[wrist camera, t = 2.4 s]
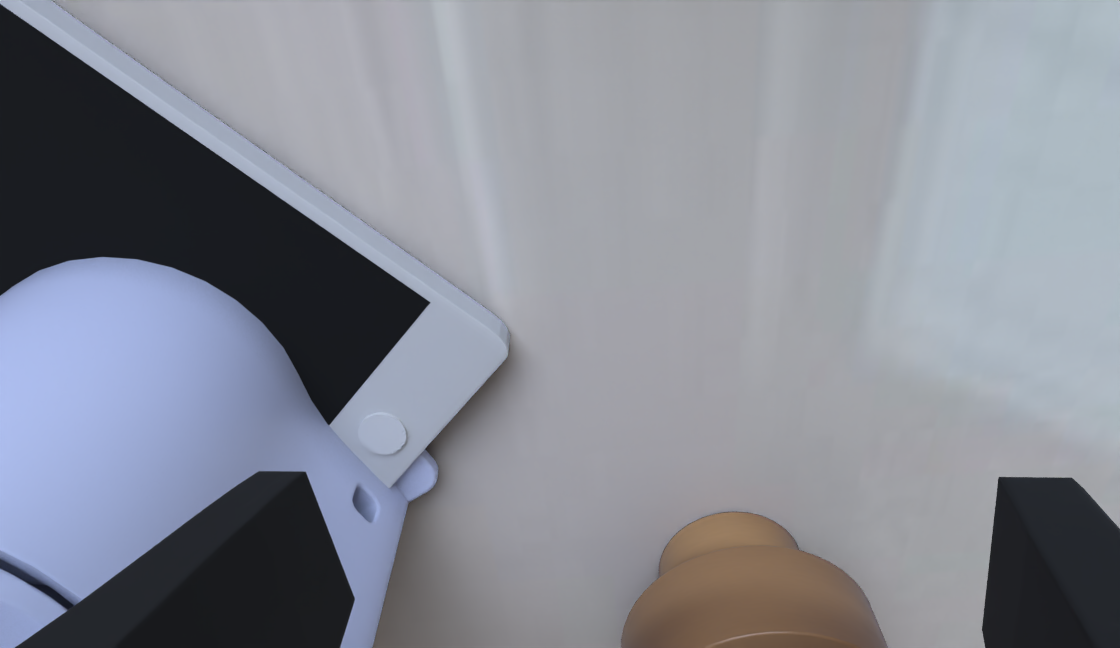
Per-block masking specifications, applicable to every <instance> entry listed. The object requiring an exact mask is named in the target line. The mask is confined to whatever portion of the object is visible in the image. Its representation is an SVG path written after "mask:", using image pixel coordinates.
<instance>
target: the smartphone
mask: <svg viewBox="0 0 1120 648" xmlns="http://www.w3.org/2000/svg"><path fill="white" fill-rule="evenodd" d="M97 257H110V258H125V259H138V260H142V261H146V262H151V263H155V264H159V265H163V266H167V267H172V268H174V269H177V270H179V271H181V272H184V273H186V274H189V275H191V276H194V277H196V278H198V279H201V280H203V281H206V282H207V283H209V284H211V285H212V286H214V287H215V288H217V289H219V290H220V291H222V292H224V293H225V294H227V295H229V296H230V297H232V298H233V299H235V300H237V301H238V302H239V303H240V304H241V305H242V306H244V307H245V308H246V309H247V310H248V311H249V312H251V313H252V314H253V315H254V316H255V317H256V318H258V319H259V320H260V321H261V322H262V323H263V324H264V325H265V326H266V328H267V329H268V330H269V331H270V332H271V334H272V335H273V336H274V337H275V338H276V340H277V341H278V342H279V343H280V344H281V346H282V347H283V348H284V350H285V351H286V353H287V355H288V357H289V359H290V360H291V362H292V364H293V366H294V367H295V369H296V371H297V373H298V375H299V377H300V379H301V381H302V383H303V385H304V387H305V389H306V391H307V393H308V395H309V397H310V399H311V401H312V402H313V404H314V405H315V407H316V408H317V410H318V411H319V413H320V414H321V415H322V417H323V418H324V420H325V421H326V423H327V424H328V425H329V426H330V427H331V428H332V430H333V431H334V432H335V433H336V434H337V435H338V437H339V438H340V439H341V440H342V441H343V442H344V443H345V444H346V445H347V447H348V448H349V449H350V450H351V451H352V452H353V453H354V454H355V455H356V456H357V457H358V458H359V459H360V460H361V461H362V462H363V463H364V464H365V465H366V466H367V467H368V468H369V469H370V470H371V471H372V472H373V473H374V474H375V475H376V476H377V477H378V478H379V479H380V480H381V481H382V482H383V483H384V484H385V485H386V486H387V487H388V488H390V487H391V486H392V485H393V484H394V483H395V482H396V481H397V480H398V478H399V477H400V476H401V475H402V474H403V473H404V472H405V471H406V470H407V468H408V467H409V466H410V465H411V464H412V463H413V462H414V461H415V459H416V458H417V457H418V456H419V455H420V454H421V453H422V452H423V451H424V449H425V448H426V447H427V446H428V445H429V444H430V443H431V442H432V441H433V439H434V438H435V437H436V436H437V435H438V434H439V433H440V432H441V431H442V429H443V428H444V427H445V426H446V425H447V424H448V423H449V422H450V420H451V419H452V418H453V417H454V416H455V415H456V414H457V413H458V412H459V410H460V409H461V408H462V407H463V406H464V405H465V404H466V403H467V402H468V400H469V399H470V398H471V397H472V396H473V395H474V394H475V393H476V392H477V390H478V389H479V388H480V387H481V386H482V385H483V384H484V383H485V381H486V380H487V379H488V378H489V377H490V376H491V375H492V374H493V373H494V371H495V370H496V369H497V368H498V367H499V366H500V365H501V364H502V363H503V361H504V360H505V359H506V358H507V356H508V352H509V343H510V333H509V331H508V328H507V327H506V326H505V324H504V323H503V322H502V321H501V320H500V319H499V318H498V317H497V316H496V315H494V314H493V313H492V312H490V311H489V310H488V309H486V308H485V307H483V306H482V305H481V304H479V303H478V302H476V301H475V300H473V299H472V298H471V297H469V296H468V295H466V294H465V293H464V292H462V291H461V290H459V289H458V288H456V287H455V286H454V285H452V284H451V283H449V282H448V281H447V280H445V279H444V278H442V277H441V276H440V275H438V274H437V273H435V272H434V271H432V270H431V269H430V268H428V267H427V266H425V265H424V264H423V263H421V262H420V261H418V260H417V259H415V258H414V257H413V256H411V255H410V254H408V253H407V252H406V251H404V250H403V249H401V248H400V247H398V246H397V245H396V244H394V243H393V242H391V241H390V240H389V239H387V238H386V237H384V236H383V235H381V234H380V233H379V232H377V231H376V230H374V229H373V228H372V227H370V226H369V225H367V224H366V223H365V222H363V221H362V220H360V219H359V218H357V217H356V216H355V215H353V214H352V213H350V212H349V211H348V210H346V209H345V208H343V207H342V206H340V205H339V204H338V203H336V202H335V201H333V200H332V199H331V198H329V197H328V196H326V195H325V194H323V193H322V192H321V191H319V190H318V189H316V188H315V187H314V186H312V185H311V184H309V183H308V182H307V181H305V180H304V179H302V178H301V177H299V176H298V175H297V174H295V173H294V172H292V171H291V170H290V169H288V168H287V167H285V166H284V165H282V164H281V163H280V162H278V161H277V160H275V159H274V158H273V157H271V156H270V155H268V154H267V153H265V152H264V151H263V150H261V149H260V148H258V147H257V146H256V145H254V144H253V143H251V142H250V141H248V140H247V139H246V138H244V137H243V136H241V135H240V134H239V133H237V132H236V131H234V130H233V129H232V128H230V127H229V126H227V125H226V124H224V123H223V122H222V121H220V120H219V119H217V118H216V117H215V116H213V115H212V114H210V113H209V112H207V111H206V110H205V109H203V108H202V107H200V106H199V105H198V104H196V103H195V102H193V101H192V100H190V99H189V98H188V97H186V96H185V95H183V94H182V93H181V92H179V91H178V90H176V89H175V88H173V87H172V86H171V85H169V84H168V83H166V82H165V81H164V80H162V79H161V78H159V77H158V76H157V75H155V74H154V73H152V72H151V71H149V70H148V69H147V68H145V67H144V66H142V65H141V64H140V63H138V62H137V61H135V60H134V59H132V58H131V57H130V56H128V55H127V54H125V53H124V52H123V51H121V50H120V49H118V48H117V47H115V46H114V45H113V44H111V43H110V42H108V41H107V40H106V39H104V38H103V37H101V36H100V35H98V34H97V33H96V32H94V31H93V30H91V29H90V28H89V27H87V26H86V25H84V24H83V23H82V22H80V21H79V20H77V19H76V18H74V17H73V16H72V15H70V14H69V13H67V12H66V11H65V10H63V9H62V8H60V7H59V6H57V5H56V4H55V3H53V2H52V1H50V0H0V296H1V295H2V294H3V293H5V292H6V291H7V290H9V289H10V288H11V287H13V286H14V285H16V284H17V283H19V282H21V281H22V280H24V279H26V278H27V277H29V276H31V275H32V274H34V273H36V272H37V271H39V270H42V269H45V268H48V267H51V266H54V265H58V264H61V263H64V262H67V261H71V260H80V259H89V258H97Z"/></svg>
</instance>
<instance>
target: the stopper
mask: <svg viewBox="0 0 1120 648" xmlns="http://www.w3.org/2000/svg"><path fill="white" fill-rule="evenodd" d="M621 648H888V646H887V644H886V641H885V639H884V636H883V634H882V632H881V629H880V627H879V624H878V622H877V620H876V617H875V615H874V612H873V610H872V607H871V605H870V603H869V601H868V599H867V597H866V595H865V594H864V592H863V590H862V589H861V588H860V587H859V586H858V584H857V583H856V582H855V581H854V580H853V579H852V578H851V577H850V576H848V575H847V574H846V573H845V572H844V571H843V570H841V569H840V568H838V567H837V566H835V565H833V564H832V563H830V562H828V561H826V560H824V559H822V558H820V557H818V556H816V555H813V554H809V553H806V552H803V551H800V550H799V549H798V546H797V544H796V542H795V540H794V539H793V537H792V536H791V535H790V534H789V533H788V532H787V531H786V530H785V529H784V528H783V527H782V526H780V525H779V524H777V523H776V522H774V521H772V520H770V519H768V518H766V517H763V516H760V515H757V514H752V513H745V512H725V513H718V514H713V515H710V516H706V517H703V518H701V519H699V520H696V521H694V522H692V523H691V524H689V525H687V526H686V527H684V528H683V529H682V530H680V531H679V532H678V533H677V534H676V535H675V536H674V537H673V538H672V539H671V540H670V542H669V543H668V544H667V546H666V548H665V550H664V552H663V554H662V557H661V559H660V564H659V578H658V579H657V580H656V581H654V582H653V583H652V584H651V585H650V586H649V587H648V588H647V589H646V590H645V591H644V592H643V594H642V595H641V596H640V597H639V599H638V600H637V601H636V602H635V604H634V606H633V608H632V609H631V611H630V613H629V615H628V617H627V620H626V622H625V625H624V628H623V633H622V638H621Z"/></svg>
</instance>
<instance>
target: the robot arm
mask: <svg viewBox="0 0 1120 648" xmlns="http://www.w3.org/2000/svg"><path fill="white" fill-rule="evenodd" d="M437 477H438V465H437V463H436V462H435V460H434V459H433V458H432V456H431V455H430V454H429V453H428V452H427V451H426V450H425V449H424V451H423V452H422V453H421V454H420V455H419V456H418V457H417V458H416V459H415V461H414V462H413V463H412V464H411V465H410V466H409V467H408V468H407V470H406V471H405V472H404V473H403V474H402V475H401V476H400V477H399V478H398V480H397V481H396V482H395V483H394V484H393V485H392V486H391V487H390V488H388V487H387V486H386V485H385V484H384V483H383V482H382V481H381V480H380V479H379V478H378V477H377V476H376V475H375V474H374V473H373V472H372V471H371V470H370V469H369V468H368V467H367V466H366V465H365V464H364V463H363V462H362V461H361V460H360V459H359V458H358V457H357V456H356V455H355V454H354V453H353V452H352V451H351V450H350V449H349V448H348V447H347V445H346V444H345V443H344V442H343V441H342V440H341V439H340V438H339V437H338V435H337V434H336V433H335V432H334V431H333V430H332V428H331V427H330V426H329V425H328V424H327V423H326V421H325V420H324V418H323V417H322V415H321V414H320V413H319V411H318V410H317V408H316V407H315V405H314V404H313V402H312V401H311V399H310V397H309V395H308V393H307V391H306V389H305V387H304V385H303V383H302V381H301V379H300V377H299V375H298V373H297V371H296V369H295V367H294V366H293V364H292V362H291V360H290V359H289V357H288V355H287V353H286V351H285V350H284V348H283V347H282V346H281V344H280V343H279V342H278V341H277V340H276V338H275V337H274V336H273V335H272V334H271V332H270V331H269V330H268V329H267V328H266V326H265V325H264V324H263V323H262V322H261V321H260V320H259V319H258V318H256V317H255V316H254V315H253V314H252V313H251V312H249V311H248V310H247V309H246V308H245V307H244V306H242V305H241V304H240V303H239V302H238V301H237V300H235V299H233V298H232V297H230V296H229V295H227V294H225V293H224V292H222V291H220V290H219V289H217V288H215V287H214V286H212V285H211V284H209V283H207V282H206V281H203V280H201V279H198V278H196V277H194V276H191V275H189V274H186V273H184V272H181V271H179V270H177V269H174V268H172V267H167V266H163V265H159V264H155V263H151V262H146V261H142V260H138V259H125V258H110V257H97V258H89V259H80V260H71V261H67V262H64V263H61V264H58V265H54V266H51V267H48V268H45V269H42V270H39V271H37V272H36V273H34V274H32V275H31V276H29V277H27V278H26V279H24V280H22V281H21V282H19V283H17V284H16V285H14V286H13V287H11V288H10V289H9V290H7V291H6V292H5V293H3V294H2V295H1V296H0V648H373V644H374V640H375V636H376V632H377V628H378V624H379V620H380V616H381V612H382V608H383V604H384V600H385V596H386V592H387V588H388V584H389V579H390V575H391V571H392V567H393V563H394V559H395V555H396V551H397V547H398V543H399V539H400V535H401V531H402V527H403V523H404V519H405V515H406V511H407V507H408V503H409V502H411V501H413V500H414V499H416V498H418V497H420V496H421V495H423V494H425V493H426V492H428V491H430V490H431V489H432V488H433V487H434V486H435V483H436V481H437ZM982 631H983V637H984V643H985V648H1120V529H1119V528H1118V527H1117V525H1116V524H1115V523H1114V522H1113V521H1112V520H1111V519H1110V518H1109V516H1108V515H1107V514H1106V513H1105V512H1104V511H1103V510H1102V509H1101V508H1100V506H1099V505H1098V504H1097V503H1096V502H1095V501H1094V500H1093V499H1092V497H1091V496H1090V495H1089V494H1088V493H1087V492H1086V491H1085V490H1084V488H1083V487H1081V486H1080V485H1079V484H1078V483H1077V482H1076V481H1075V480H1074V479H1073V478H1032V477H999V479H998V488H997V498H996V507H995V516H994V525H993V534H992V543H991V553H990V562H989V571H988V580H987V589H986V599H985V608H984V617H983V626H982Z"/></svg>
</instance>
